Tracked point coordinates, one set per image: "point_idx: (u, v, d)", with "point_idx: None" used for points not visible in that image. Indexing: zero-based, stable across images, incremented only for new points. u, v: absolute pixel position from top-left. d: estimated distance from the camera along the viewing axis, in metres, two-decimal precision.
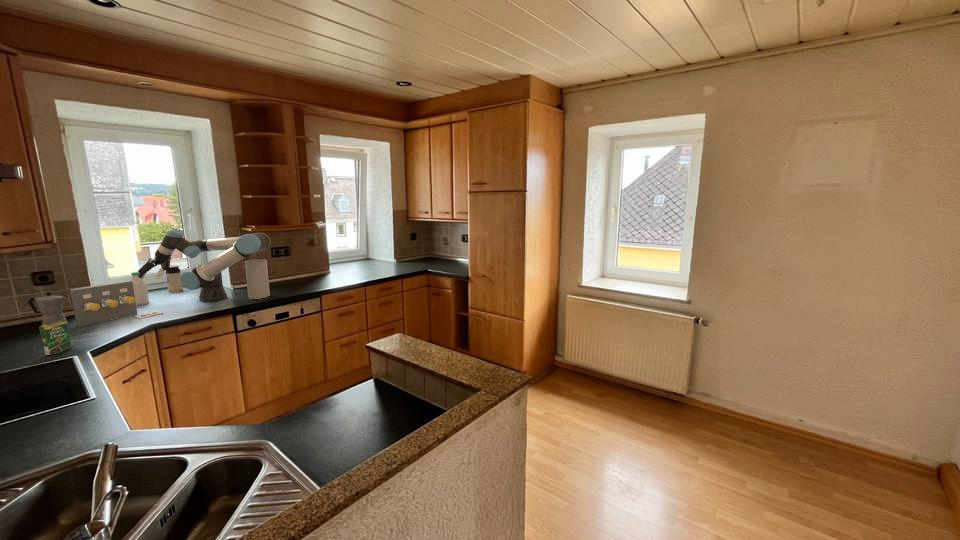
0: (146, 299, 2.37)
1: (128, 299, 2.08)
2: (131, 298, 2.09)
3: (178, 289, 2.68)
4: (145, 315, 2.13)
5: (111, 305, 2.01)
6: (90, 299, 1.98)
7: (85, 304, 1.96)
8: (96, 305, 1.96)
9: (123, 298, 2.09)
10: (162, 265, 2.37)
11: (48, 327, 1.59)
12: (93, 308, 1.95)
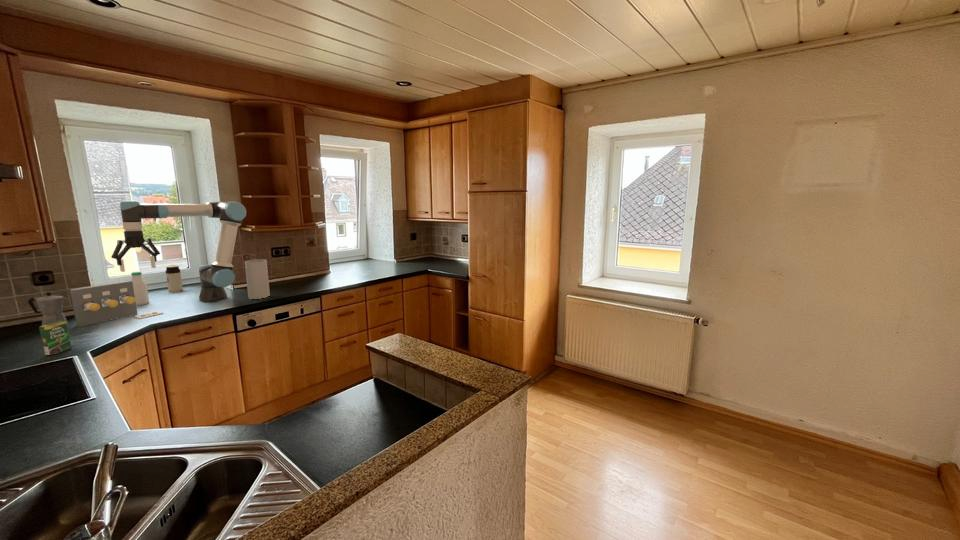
0: (146, 299, 2.37)
1: (128, 299, 2.08)
2: (131, 298, 2.09)
3: (178, 289, 2.68)
4: (145, 315, 2.13)
5: (111, 305, 2.01)
6: (90, 299, 1.98)
7: (85, 304, 1.96)
8: (96, 305, 1.96)
9: (123, 298, 2.09)
10: (146, 250, 2.09)
11: (48, 327, 1.59)
12: (93, 308, 1.95)
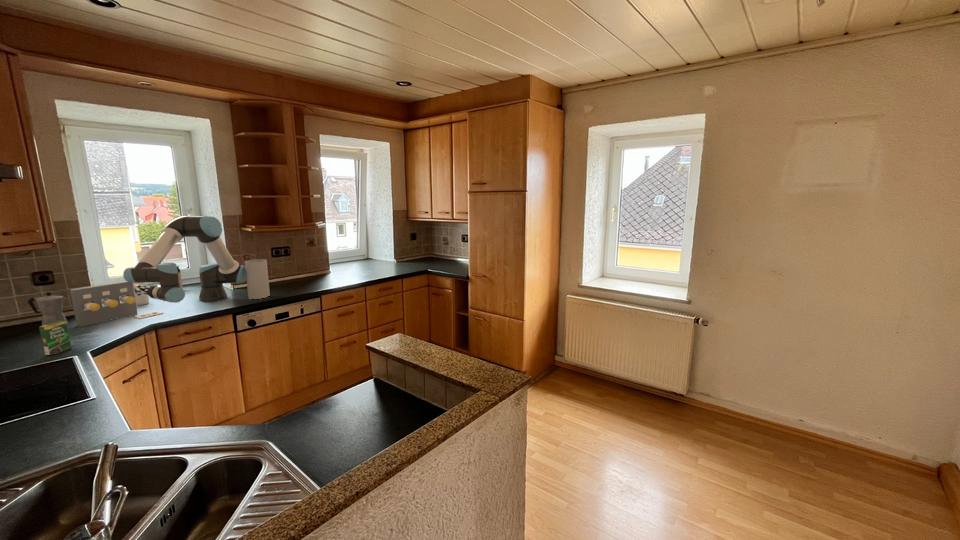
0: (146, 299, 2.37)
1: (128, 299, 2.08)
2: (131, 298, 2.09)
3: None
4: (145, 315, 2.13)
5: (111, 305, 2.01)
6: (90, 299, 1.98)
7: (85, 304, 1.96)
8: (96, 305, 1.96)
9: (123, 298, 2.09)
10: None
11: (48, 327, 1.59)
12: (93, 308, 1.95)
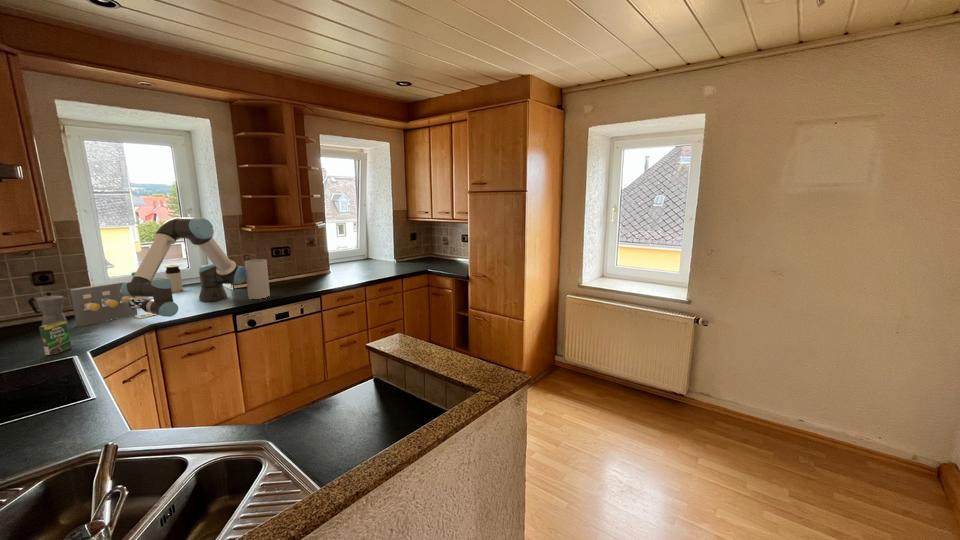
0: None
1: None
2: None
3: (178, 289, 2.68)
4: (145, 315, 2.13)
5: (111, 305, 2.01)
6: (90, 299, 1.98)
7: (85, 304, 1.96)
8: (96, 305, 1.96)
9: (122, 298, 2.09)
10: None
11: (48, 327, 1.59)
12: (93, 308, 1.95)
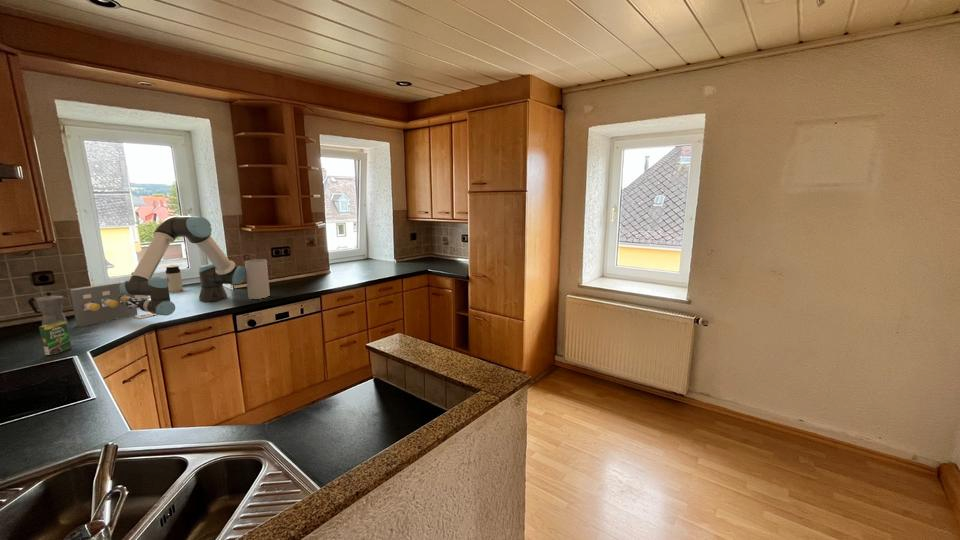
0: None
1: (124, 298, 2.09)
2: None
3: (178, 289, 2.68)
4: (145, 315, 2.13)
5: (111, 305, 2.01)
6: (90, 299, 1.98)
7: (85, 304, 1.96)
8: (96, 305, 1.96)
9: (119, 297, 2.11)
10: None
11: (48, 327, 1.59)
12: (93, 308, 1.95)
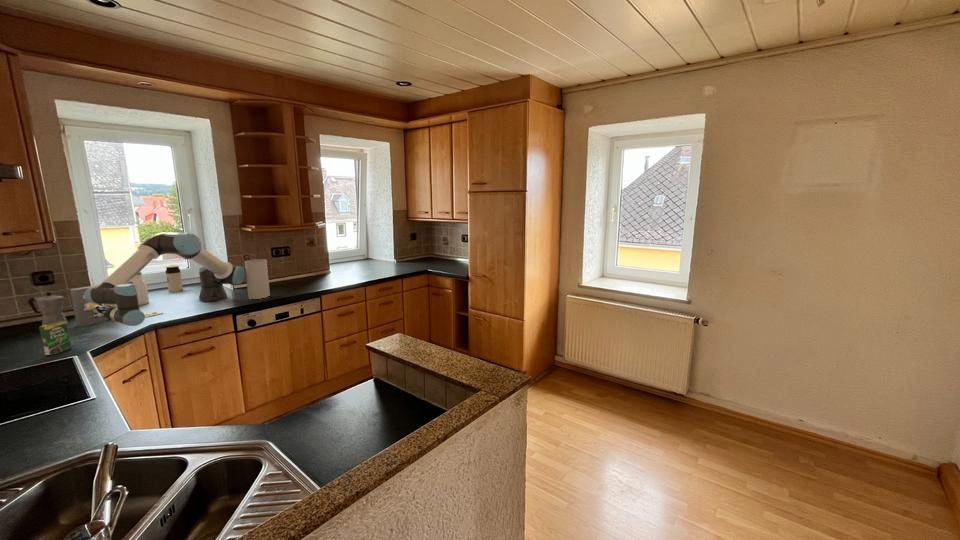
0: (146, 299, 2.37)
1: None
2: None
3: (178, 289, 2.68)
4: (145, 315, 2.13)
5: (111, 305, 2.01)
6: None
7: (85, 304, 1.96)
8: None
9: None
10: None
11: (48, 327, 1.59)
12: None
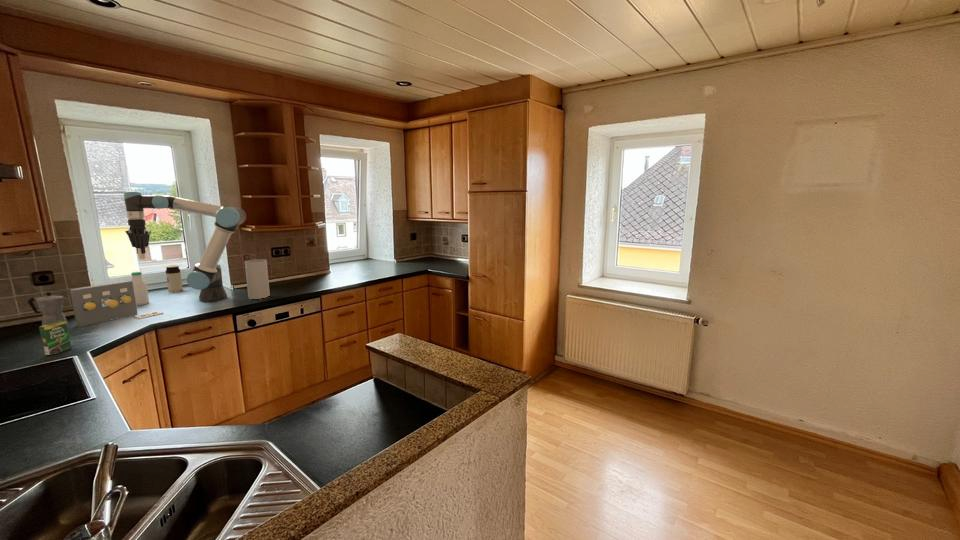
0: (146, 299, 2.37)
1: (124, 298, 2.09)
2: (127, 297, 2.10)
3: (178, 289, 2.68)
4: (145, 315, 2.13)
5: (111, 305, 2.01)
6: (90, 299, 1.98)
7: None
8: (92, 304, 1.97)
9: (119, 297, 2.10)
10: (138, 239, 2.23)
11: (48, 327, 1.59)
12: (89, 307, 1.97)
